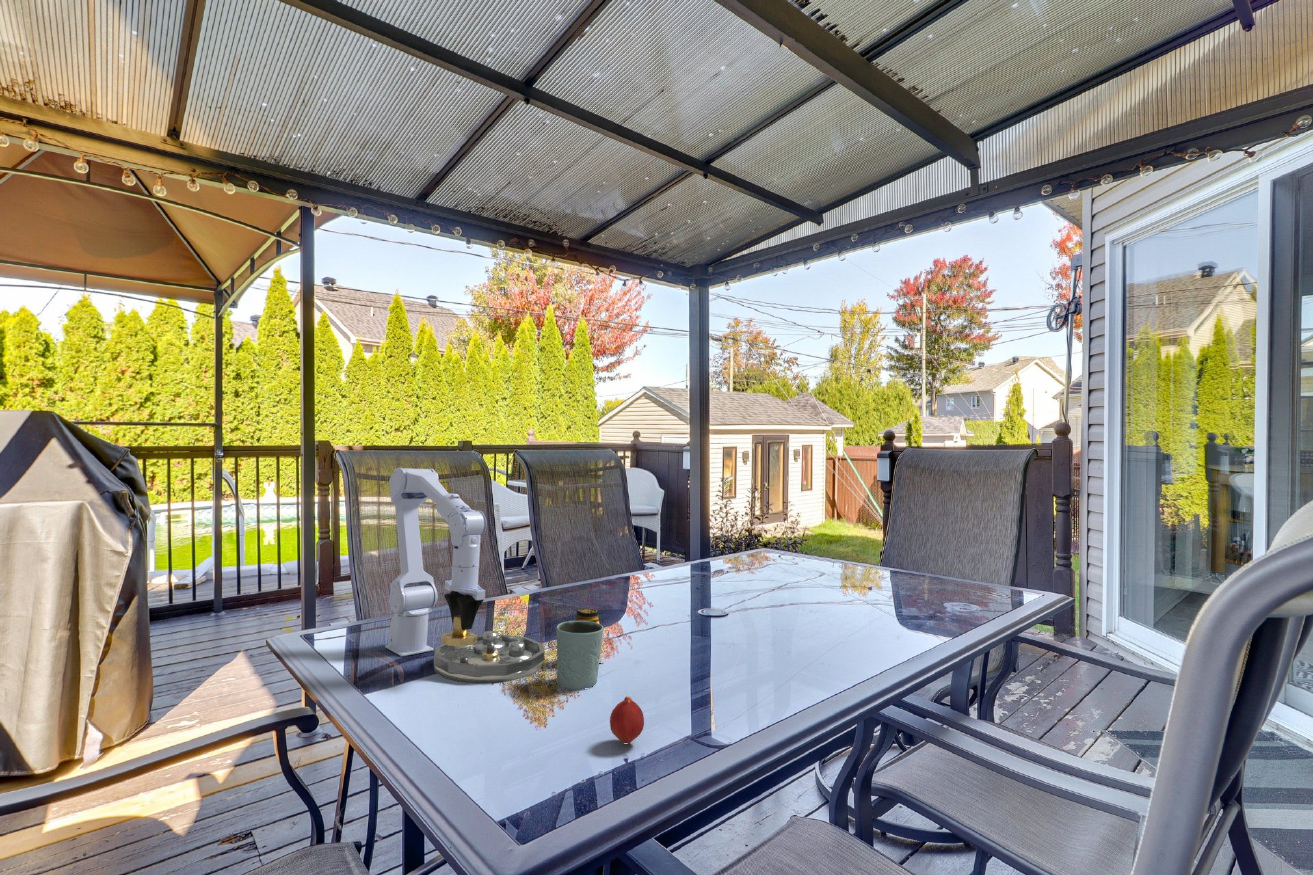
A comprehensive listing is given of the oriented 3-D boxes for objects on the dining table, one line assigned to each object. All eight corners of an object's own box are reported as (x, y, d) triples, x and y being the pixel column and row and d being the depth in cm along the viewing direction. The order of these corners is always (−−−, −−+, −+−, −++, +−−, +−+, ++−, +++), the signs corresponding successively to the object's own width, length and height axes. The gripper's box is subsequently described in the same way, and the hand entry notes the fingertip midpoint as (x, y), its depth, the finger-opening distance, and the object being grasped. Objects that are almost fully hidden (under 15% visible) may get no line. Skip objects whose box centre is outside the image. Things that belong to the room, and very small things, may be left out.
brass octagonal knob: (437, 639, 138) (440, 614, 138) (467, 637, 142) (469, 612, 143) (450, 647, 133) (453, 620, 133) (481, 644, 137) (483, 618, 138)
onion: (608, 735, 108) (610, 688, 108) (642, 736, 108) (644, 689, 108) (609, 751, 102) (611, 701, 102) (644, 751, 102) (646, 701, 103)
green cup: (581, 672, 140) (584, 618, 141) (611, 684, 133) (613, 627, 134) (544, 681, 133) (546, 624, 134) (572, 695, 126) (575, 635, 126)
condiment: (604, 663, 147) (606, 612, 148) (571, 668, 142) (574, 615, 143) (590, 655, 153) (592, 605, 154) (558, 659, 149) (561, 608, 149)
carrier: (415, 661, 142) (416, 637, 143) (506, 643, 160) (507, 621, 160) (468, 691, 126) (469, 663, 126) (563, 667, 143) (565, 643, 143)
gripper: (433, 562, 141) (430, 623, 140) (465, 571, 131) (461, 637, 130) (462, 560, 146) (459, 618, 145) (495, 568, 136) (491, 631, 135)
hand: (462, 627), depth 138 cm, fingers closed on brass octagonal knob, 3 cm apart
